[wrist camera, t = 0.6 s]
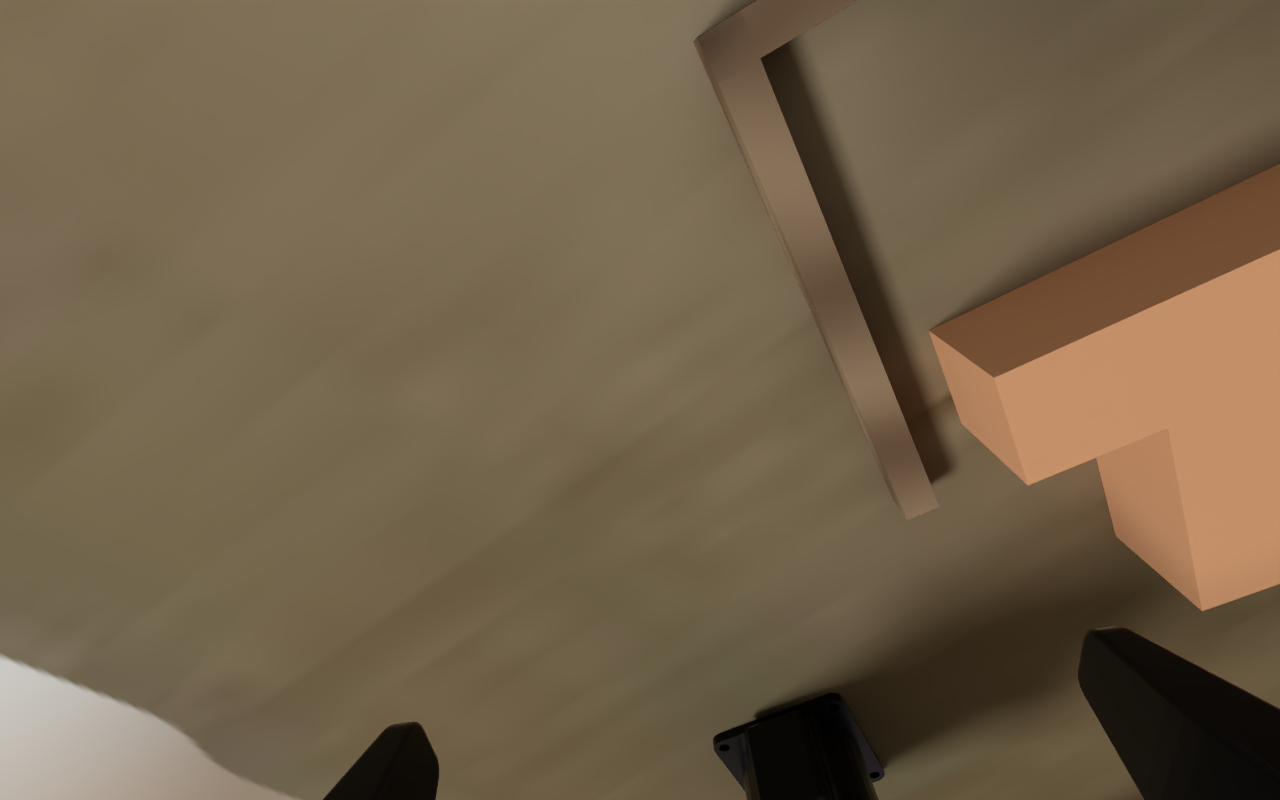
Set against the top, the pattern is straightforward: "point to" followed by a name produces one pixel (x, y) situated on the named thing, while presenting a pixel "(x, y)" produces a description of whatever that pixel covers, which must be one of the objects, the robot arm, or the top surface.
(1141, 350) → the t puck
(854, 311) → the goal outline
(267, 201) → the top surface
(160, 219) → the top surface
